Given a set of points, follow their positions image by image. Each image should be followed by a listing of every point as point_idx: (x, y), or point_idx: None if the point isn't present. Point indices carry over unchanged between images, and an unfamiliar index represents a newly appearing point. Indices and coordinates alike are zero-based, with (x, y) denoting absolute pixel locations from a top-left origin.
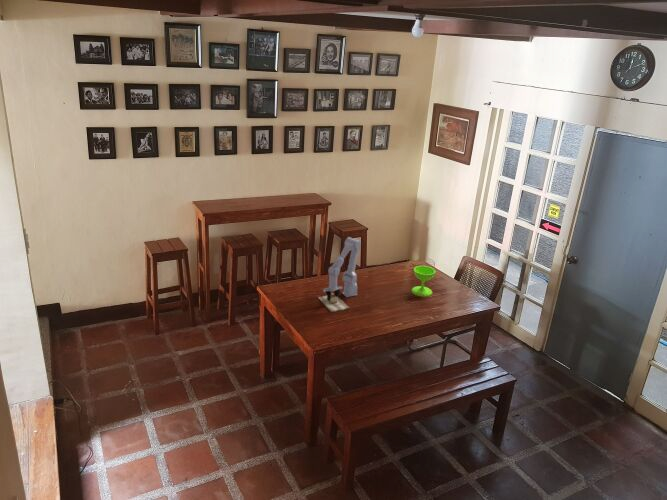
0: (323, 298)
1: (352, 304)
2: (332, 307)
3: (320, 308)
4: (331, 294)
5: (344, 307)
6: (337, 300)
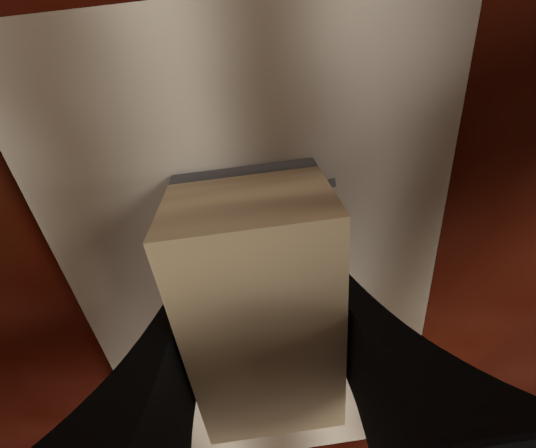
0: (96, 140)
1: (500, 350)
2: (201, 419)
3: (30, 381)
4: (273, 302)
5: (352, 429)
6: (360, 272)
